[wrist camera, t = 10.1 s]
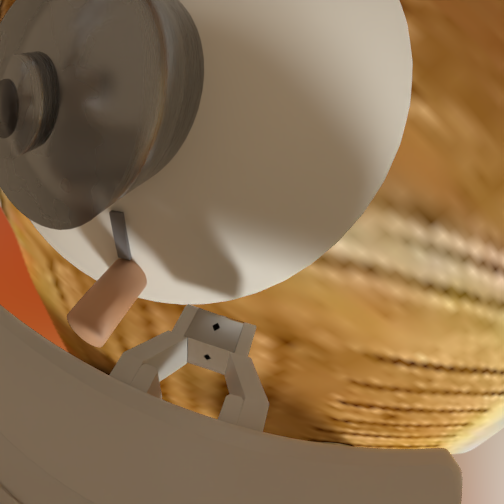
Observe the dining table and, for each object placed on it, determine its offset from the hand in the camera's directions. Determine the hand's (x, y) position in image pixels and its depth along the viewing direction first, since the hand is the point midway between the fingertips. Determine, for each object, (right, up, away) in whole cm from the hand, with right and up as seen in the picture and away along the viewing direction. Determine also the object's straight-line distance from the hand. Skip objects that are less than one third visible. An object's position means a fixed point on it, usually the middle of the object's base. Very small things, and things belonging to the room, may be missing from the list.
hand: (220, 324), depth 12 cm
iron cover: (-5, +9, -3) cm, 11 cm away
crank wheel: (-3, +11, -1) cm, 11 cm away
